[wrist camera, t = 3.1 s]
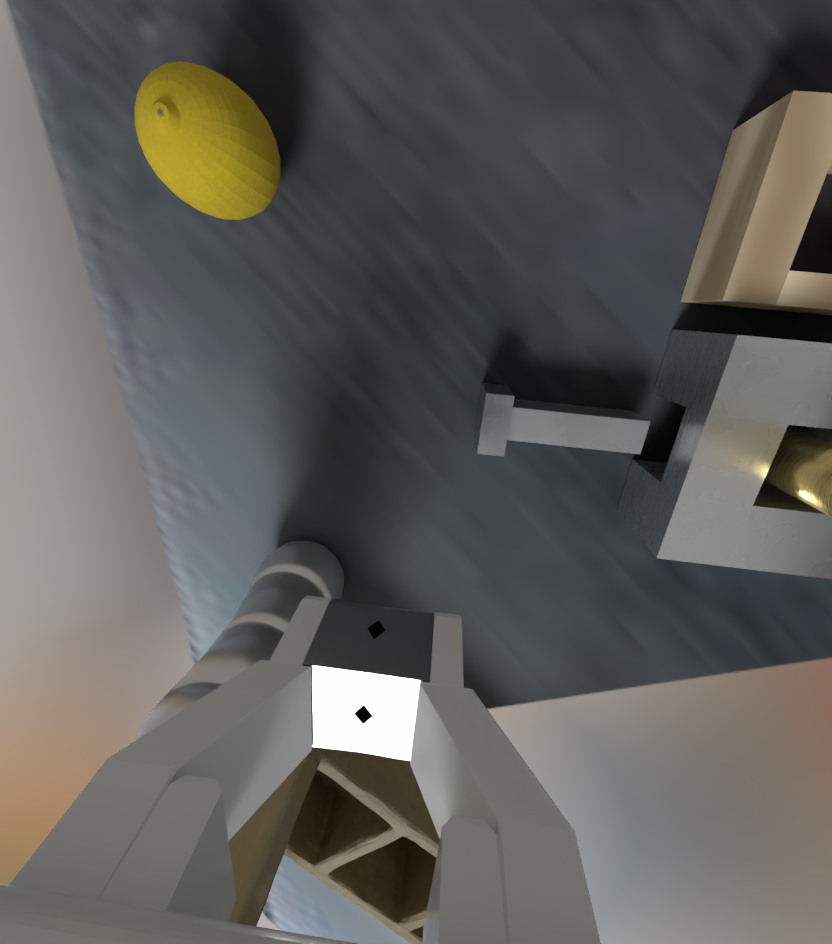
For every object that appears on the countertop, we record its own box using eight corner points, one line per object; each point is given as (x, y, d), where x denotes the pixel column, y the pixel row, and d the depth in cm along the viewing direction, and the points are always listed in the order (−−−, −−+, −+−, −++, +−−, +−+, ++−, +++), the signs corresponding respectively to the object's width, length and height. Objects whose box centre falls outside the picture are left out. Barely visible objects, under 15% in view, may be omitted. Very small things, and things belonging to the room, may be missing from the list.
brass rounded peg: (772, 416, 25) (1059, 512, 13) (753, 461, 26) (1001, 587, 14) (722, 411, 26) (961, 502, 13) (705, 456, 27) (913, 577, 15)
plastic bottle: (363, 551, 32) (235, 890, 13) (332, 612, 34) (186, 969, 16) (287, 516, 31) (40, 817, 13) (261, 580, 34) (22, 911, 15)
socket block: (885, 349, 23) (1019, 360, 18) (795, 530, 28) (880, 584, 22) (672, 329, 24) (737, 334, 18) (617, 509, 29) (656, 558, 23)
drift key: (634, 398, 26) (661, 411, 22) (619, 451, 27) (642, 471, 24) (482, 382, 26) (486, 392, 23) (474, 436, 28) (476, 453, 24)
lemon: (304, 233, 24) (236, 198, 17) (214, 230, 24) (108, 194, 17) (298, 115, 22) (218, 16, 14) (200, 113, 22) (72, 16, 15)
